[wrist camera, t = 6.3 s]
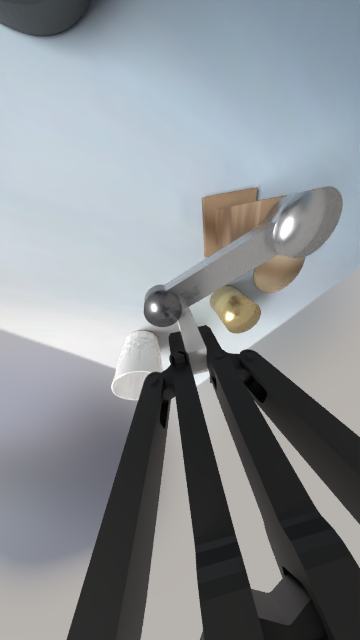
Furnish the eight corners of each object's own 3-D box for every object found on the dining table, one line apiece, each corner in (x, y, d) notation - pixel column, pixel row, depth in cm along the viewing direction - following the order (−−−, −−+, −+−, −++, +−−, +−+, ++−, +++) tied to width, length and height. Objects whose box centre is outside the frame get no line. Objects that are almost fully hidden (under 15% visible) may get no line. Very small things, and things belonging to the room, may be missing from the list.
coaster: (258, 245, 22) (260, 245, 22) (310, 234, 23) (313, 234, 22) (250, 295, 27) (252, 297, 27) (292, 286, 28) (294, 287, 27)
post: (201, 198, 18) (245, 175, 10) (253, 188, 18) (338, 159, 10) (204, 256, 22) (236, 275, 14) (246, 247, 22) (302, 261, 14)
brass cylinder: (209, 289, 25) (226, 307, 19) (238, 282, 25) (264, 299, 20) (210, 314, 28) (225, 336, 23) (236, 308, 29) (257, 328, 23)
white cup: (162, 328, 28) (167, 369, 20) (159, 354, 32) (162, 397, 24) (121, 327, 26) (108, 372, 18) (123, 355, 31) (114, 402, 23)
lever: (309, 180, 10) (348, 169, 8) (307, 236, 12) (337, 239, 10) (134, 293, 12) (131, 306, 10) (159, 322, 15) (161, 337, 13)
